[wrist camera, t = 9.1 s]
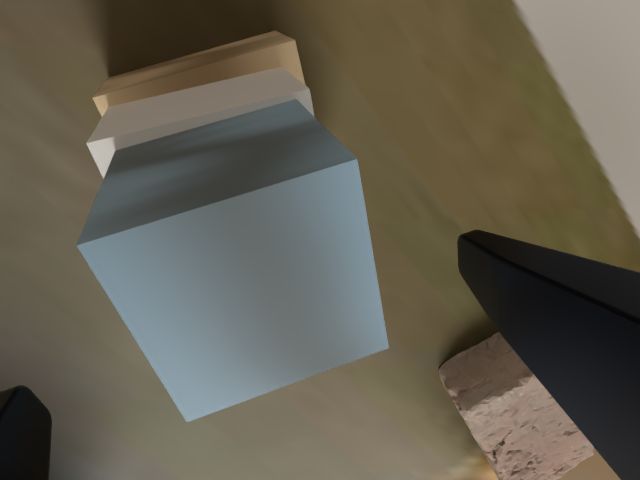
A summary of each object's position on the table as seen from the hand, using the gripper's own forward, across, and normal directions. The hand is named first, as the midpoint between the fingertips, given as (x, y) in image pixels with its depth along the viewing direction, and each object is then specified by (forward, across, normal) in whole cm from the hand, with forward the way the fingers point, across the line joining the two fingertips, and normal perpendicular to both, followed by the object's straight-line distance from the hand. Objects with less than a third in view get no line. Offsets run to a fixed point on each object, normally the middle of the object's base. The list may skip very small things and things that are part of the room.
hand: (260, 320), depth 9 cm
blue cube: (+5, 0, 0) cm, 5 cm away
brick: (+14, -16, +28) cm, 35 cm away
